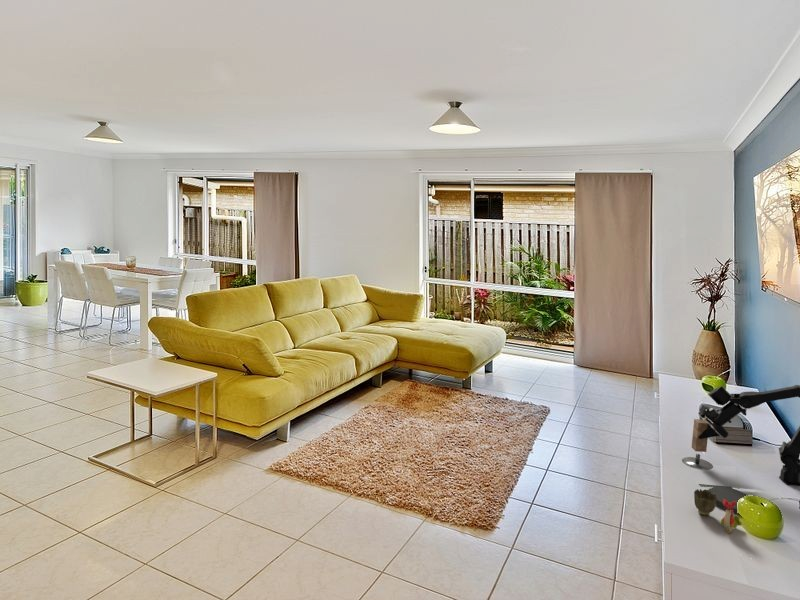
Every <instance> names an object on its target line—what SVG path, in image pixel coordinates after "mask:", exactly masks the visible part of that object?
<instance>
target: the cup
mask: <svg viewBox="0 0 800 600" xmlns="http://www.w3.org/2000/svg"><path fill="white" fill-rule="evenodd" d="M707 490H708V489H703V490H702V489H701V488H700V489H695V490H694V492H693V497H694V498H693V499H694V505H695V508H696V509H697V512H698V514H699V515H701V516H703V517H708V516H710V515H711V514H710V513H712V512H713V511H714V510H715V508H716V507H717V505H716V502H717V498H718V496H716V494H714V495H713V494H711V491H709V492H708V491H707Z"/></svg>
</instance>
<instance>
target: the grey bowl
mask: <svg viewBox="0 0 800 600" xmlns="http://www.w3.org/2000/svg"><path fill="white" fill-rule="evenodd" d="M681 461H682V463H683V464H684V465H686V466H688V467H689V468H693V469H697V470H703V471H705V470H712V469H713V468H714V466H713V465H714V464H712V463H711V462H709V461H708V460H705V459H703V458H701V454H700V453H695V457H694V456H692V457H691V456H686V457H683V458H681Z"/></svg>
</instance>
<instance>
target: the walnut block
mask: <svg viewBox="0 0 800 600" xmlns="http://www.w3.org/2000/svg"><path fill="white" fill-rule="evenodd" d="M708 424H709V423H708V422H707V421H706V420H702V419H700V418H693V428H692V429H693V430H692V439H691V441H692V442H691V449H693V450H694V451H695V452H700V453H707V448H708V439H709V438H704V439H699V438H698V437H699V436H700V435H701V434H702V433H703V432H704V431H705V430H706V429H707V425H708Z"/></svg>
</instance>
